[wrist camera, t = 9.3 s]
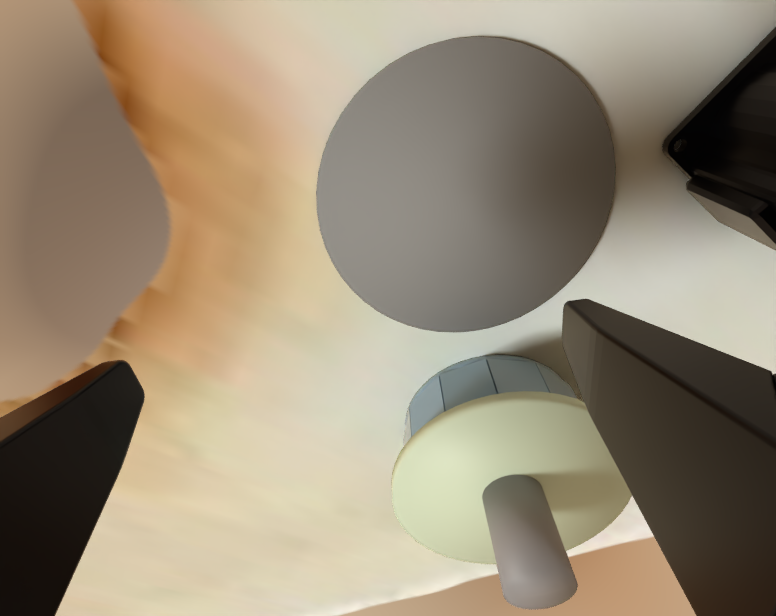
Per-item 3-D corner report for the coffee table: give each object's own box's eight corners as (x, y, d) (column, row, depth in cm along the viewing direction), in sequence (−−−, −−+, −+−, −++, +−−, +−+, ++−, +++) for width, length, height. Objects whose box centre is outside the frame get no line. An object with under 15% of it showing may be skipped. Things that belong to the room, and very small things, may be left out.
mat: (445, -52, 15) (446, -54, 15) (674, 175, 19) (679, 177, 19) (264, 235, 20) (262, 238, 20) (473, 368, 24) (474, 372, 24)
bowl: (481, 322, 23) (501, 375, 19) (608, 406, 26) (647, 467, 22) (372, 435, 27) (370, 498, 23) (493, 497, 30) (509, 561, 26)
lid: (506, 347, 18) (546, 444, 14) (679, 463, 22) (756, 571, 18) (345, 498, 23) (336, 608, 19) (510, 573, 27) (536, 680, 22)
